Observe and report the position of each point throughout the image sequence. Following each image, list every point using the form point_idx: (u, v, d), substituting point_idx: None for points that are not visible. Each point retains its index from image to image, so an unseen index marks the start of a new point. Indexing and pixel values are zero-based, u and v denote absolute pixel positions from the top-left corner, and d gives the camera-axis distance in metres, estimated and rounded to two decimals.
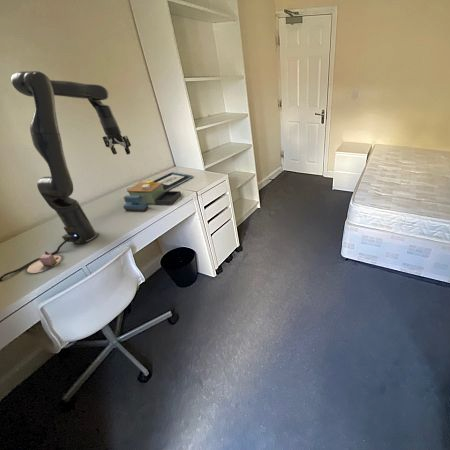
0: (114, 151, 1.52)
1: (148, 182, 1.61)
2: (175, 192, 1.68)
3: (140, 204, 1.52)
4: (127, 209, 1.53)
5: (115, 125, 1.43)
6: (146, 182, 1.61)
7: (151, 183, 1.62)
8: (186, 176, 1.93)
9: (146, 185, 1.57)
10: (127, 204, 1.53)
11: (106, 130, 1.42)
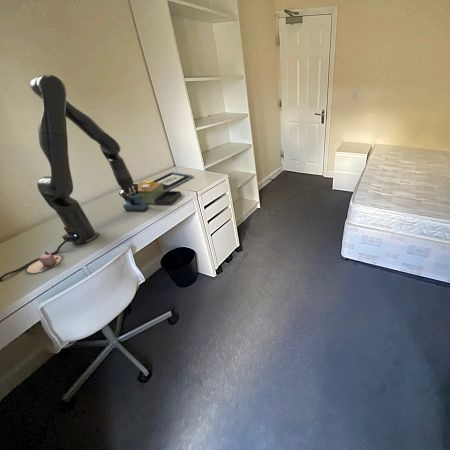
0: None
1: (148, 182, 1.61)
2: (175, 192, 1.68)
3: (140, 204, 1.52)
4: (127, 209, 1.53)
5: (117, 178, 1.40)
6: (146, 182, 1.61)
7: (151, 183, 1.62)
8: (186, 176, 1.93)
9: (146, 185, 1.57)
10: (127, 204, 1.53)
11: None
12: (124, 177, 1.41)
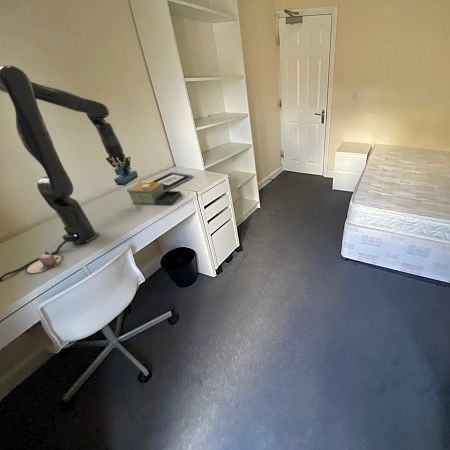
0: None
1: (148, 182, 1.61)
2: (175, 192, 1.68)
3: (130, 172, 1.49)
4: (125, 182, 1.44)
5: (117, 143, 1.36)
6: (146, 182, 1.61)
7: (151, 183, 1.62)
8: (186, 176, 1.93)
9: (146, 185, 1.57)
10: (121, 178, 1.43)
11: (107, 149, 1.34)
12: None
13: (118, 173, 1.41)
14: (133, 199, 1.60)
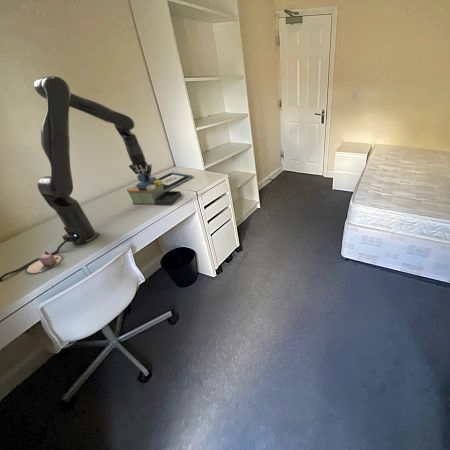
0: None
1: (157, 181, 1.61)
2: (175, 192, 1.68)
3: (150, 178, 1.62)
4: None
5: (140, 152, 1.48)
6: (155, 182, 1.61)
7: (160, 182, 1.63)
8: (186, 176, 1.93)
9: (151, 185, 1.56)
10: (143, 183, 1.55)
11: (132, 157, 1.47)
12: None
13: (140, 179, 1.53)
14: (133, 199, 1.60)
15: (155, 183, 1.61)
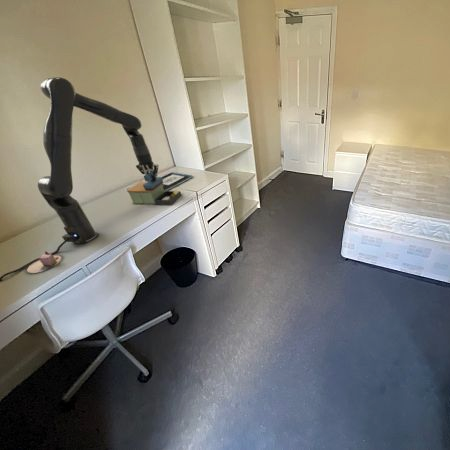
0: None
1: (173, 192, 1.65)
2: None
3: (156, 178, 1.61)
4: (153, 187, 1.56)
5: (147, 152, 1.48)
6: None
7: (176, 192, 1.66)
8: (186, 176, 1.93)
9: None
10: (149, 183, 1.55)
11: (139, 157, 1.47)
12: None
13: (147, 179, 1.53)
14: (133, 199, 1.60)
15: (172, 194, 1.65)
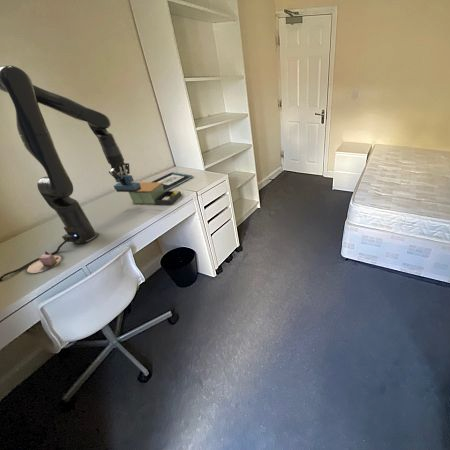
0: None
1: (173, 192, 1.65)
2: None
3: (131, 184, 1.45)
4: (118, 190, 1.46)
5: (107, 155, 1.33)
6: None
7: (176, 192, 1.66)
8: (186, 176, 1.93)
9: None
10: (118, 184, 1.46)
11: None
12: (114, 154, 1.34)
13: None
14: (133, 199, 1.60)
15: (172, 194, 1.65)
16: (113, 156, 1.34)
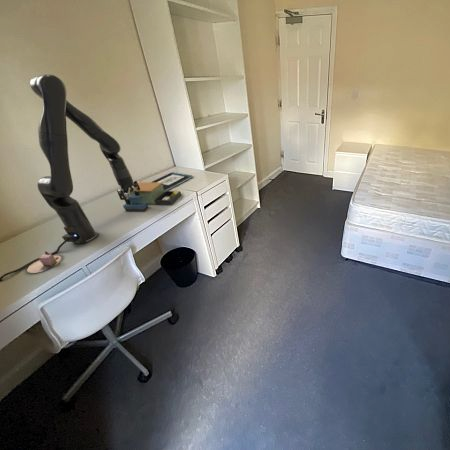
0: (136, 195, 1.55)
1: (173, 192, 1.65)
2: None
3: (140, 204, 1.52)
4: (127, 209, 1.53)
5: (117, 178, 1.40)
6: None
7: (176, 192, 1.66)
8: (186, 176, 1.93)
9: None
10: None
11: None
12: (124, 177, 1.41)
13: None
14: None
15: (172, 194, 1.65)
16: (123, 178, 1.41)
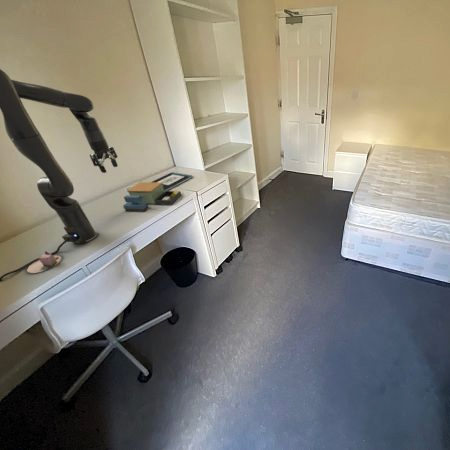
0: (113, 164, 1.42)
1: (173, 192, 1.65)
2: None
3: (140, 204, 1.52)
4: (127, 209, 1.53)
5: (89, 141, 1.28)
6: None
7: (176, 192, 1.66)
8: (186, 176, 1.93)
9: None
10: (127, 204, 1.53)
11: None
12: (97, 140, 1.28)
13: None
14: None
15: (172, 194, 1.65)
16: (96, 141, 1.28)
